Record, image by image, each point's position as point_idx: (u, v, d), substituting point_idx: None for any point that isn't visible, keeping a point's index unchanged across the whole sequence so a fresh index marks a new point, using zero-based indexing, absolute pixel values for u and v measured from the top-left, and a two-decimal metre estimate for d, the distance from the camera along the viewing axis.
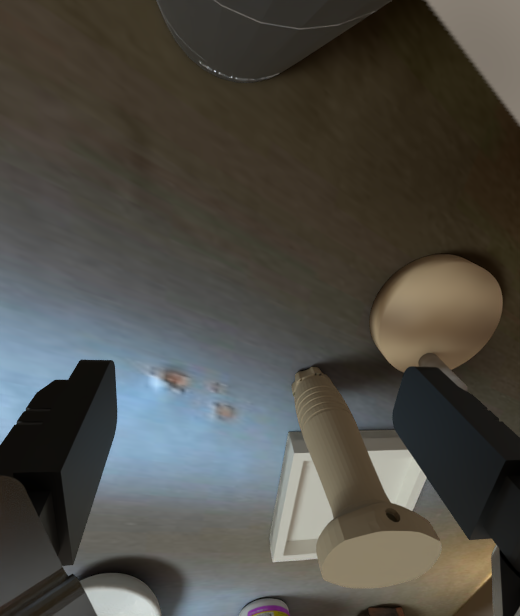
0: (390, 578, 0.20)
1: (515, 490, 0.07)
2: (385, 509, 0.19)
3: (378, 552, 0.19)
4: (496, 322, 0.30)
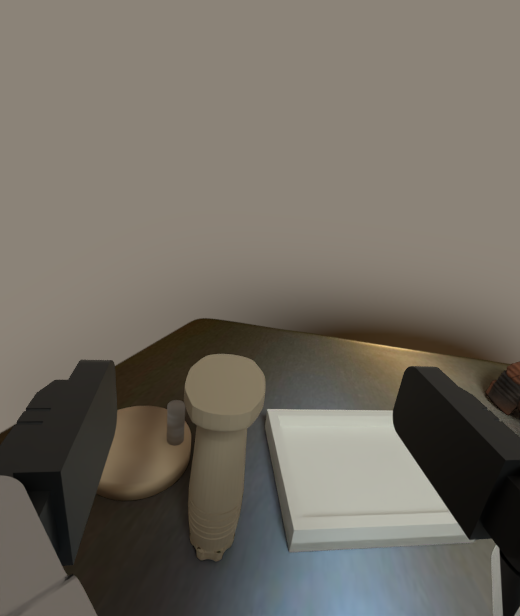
0: (251, 373, 0.24)
1: (515, 490, 0.07)
2: None
3: (213, 384, 0.22)
4: (143, 406, 0.39)
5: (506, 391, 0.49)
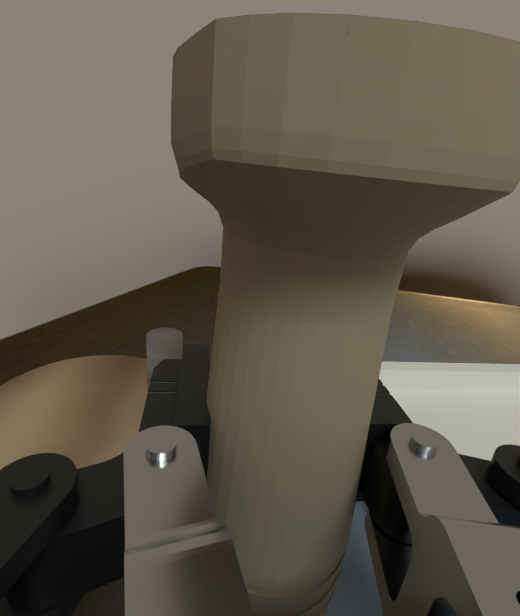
0: None
1: (377, 451, 0.08)
2: None
3: None
4: (108, 356, 0.22)
5: None
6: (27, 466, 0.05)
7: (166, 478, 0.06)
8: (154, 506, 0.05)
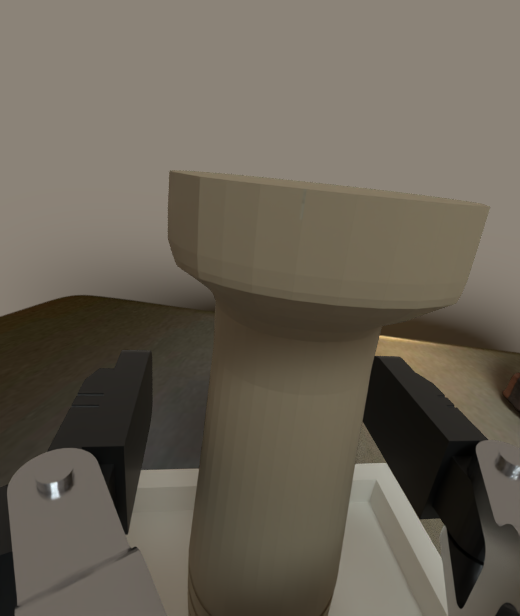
0: (381, 190, 0.08)
1: (458, 469, 0.07)
2: None
3: None
4: None
5: None
6: None
7: (64, 509, 0.05)
8: (23, 548, 0.05)
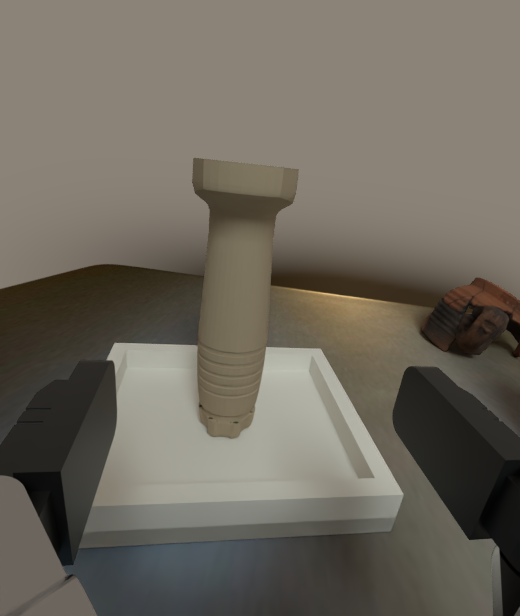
0: None
1: (515, 490, 0.07)
2: None
3: None
4: None
5: (442, 321, 0.39)
6: None
7: None
8: None
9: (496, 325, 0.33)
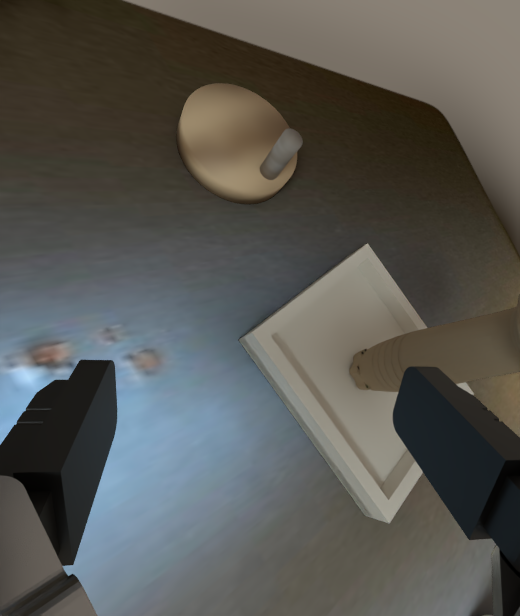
0: None
1: (515, 490, 0.07)
2: None
3: None
4: (281, 118, 0.32)
5: None
6: None
7: None
8: None
9: None
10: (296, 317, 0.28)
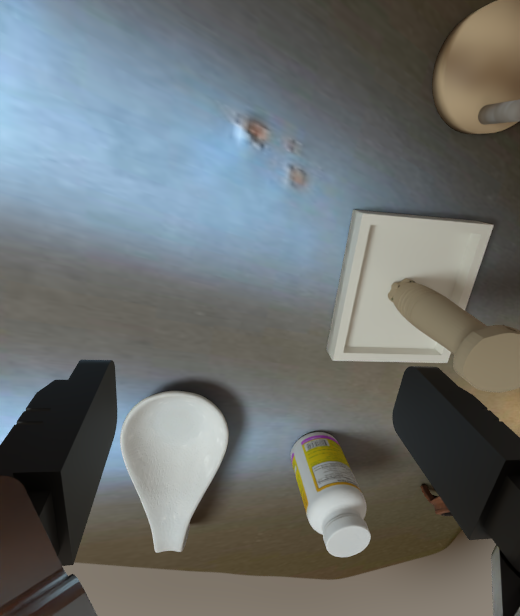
0: (506, 383, 0.28)
1: (515, 490, 0.07)
2: (504, 327, 0.27)
3: (502, 354, 0.26)
4: None
5: None
6: None
7: None
8: None
9: None
10: (397, 227, 0.38)
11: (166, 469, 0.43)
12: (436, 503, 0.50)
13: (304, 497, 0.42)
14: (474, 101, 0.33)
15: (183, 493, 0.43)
